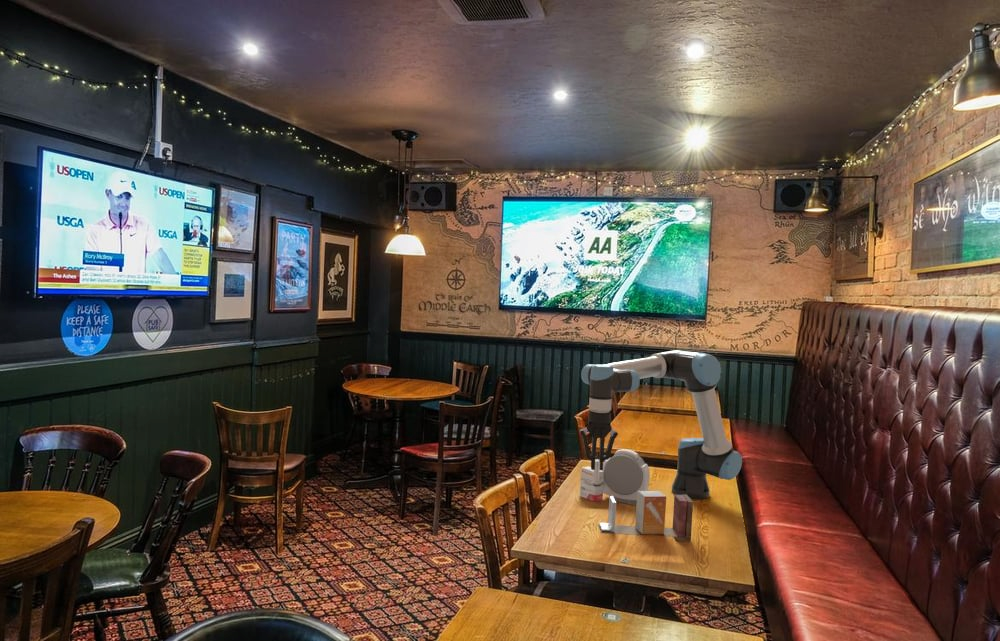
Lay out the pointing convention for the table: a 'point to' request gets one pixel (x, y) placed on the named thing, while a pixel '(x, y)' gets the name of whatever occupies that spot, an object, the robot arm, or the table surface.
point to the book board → (666, 530)
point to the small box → (650, 512)
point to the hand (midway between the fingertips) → (596, 479)
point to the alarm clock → (625, 476)
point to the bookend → (610, 516)
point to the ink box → (591, 485)
